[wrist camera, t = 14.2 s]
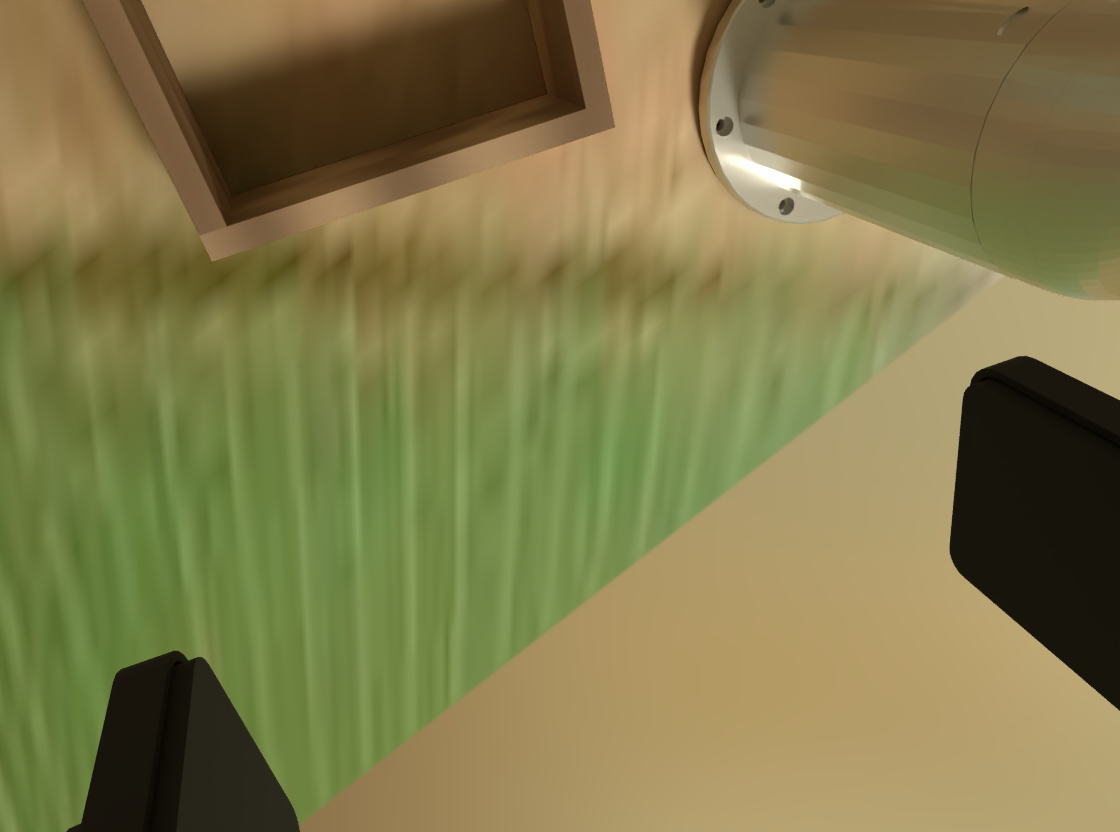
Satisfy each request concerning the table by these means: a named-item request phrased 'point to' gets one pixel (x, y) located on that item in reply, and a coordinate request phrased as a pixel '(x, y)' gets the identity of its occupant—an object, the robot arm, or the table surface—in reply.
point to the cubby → (371, 176)
